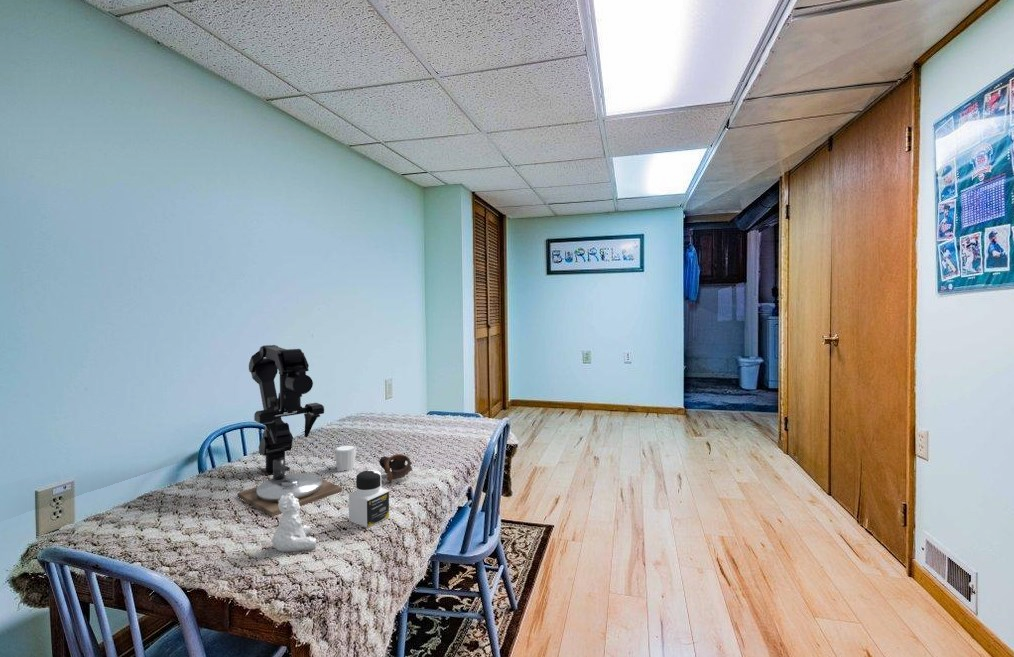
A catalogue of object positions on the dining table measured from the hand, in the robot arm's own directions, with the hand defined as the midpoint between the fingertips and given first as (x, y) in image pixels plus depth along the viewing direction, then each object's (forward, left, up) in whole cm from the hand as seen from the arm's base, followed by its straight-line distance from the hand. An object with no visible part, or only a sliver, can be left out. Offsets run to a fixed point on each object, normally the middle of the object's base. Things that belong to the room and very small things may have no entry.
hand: (290, 440), depth 135 cm
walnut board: (+9, -5, -13) cm, 17 cm away
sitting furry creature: (+37, -19, -13) cm, 44 cm away
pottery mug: (+22, +22, -13) cm, 34 cm away
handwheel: (+9, -5, -11) cm, 15 cm away
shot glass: (+3, +17, -13) cm, 22 cm away
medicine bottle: (+40, -1, -13) cm, 42 cm away
